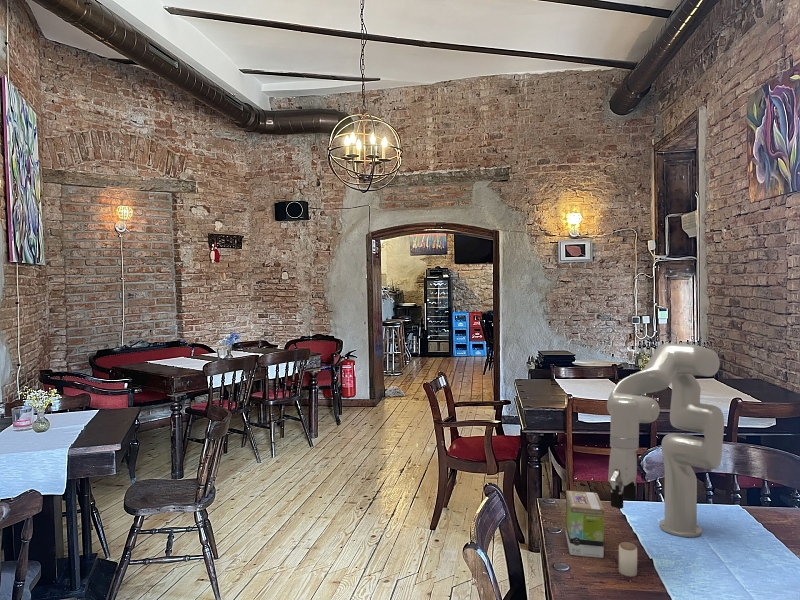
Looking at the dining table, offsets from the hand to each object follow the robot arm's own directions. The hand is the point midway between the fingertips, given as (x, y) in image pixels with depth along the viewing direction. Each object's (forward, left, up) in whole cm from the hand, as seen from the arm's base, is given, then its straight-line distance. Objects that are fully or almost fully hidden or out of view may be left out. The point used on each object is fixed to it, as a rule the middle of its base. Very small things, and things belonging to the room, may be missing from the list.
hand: (623, 503), depth 158 cm
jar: (+1, +1, -19) cm, 19 cm away
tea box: (-8, -14, -19) cm, 25 cm away
